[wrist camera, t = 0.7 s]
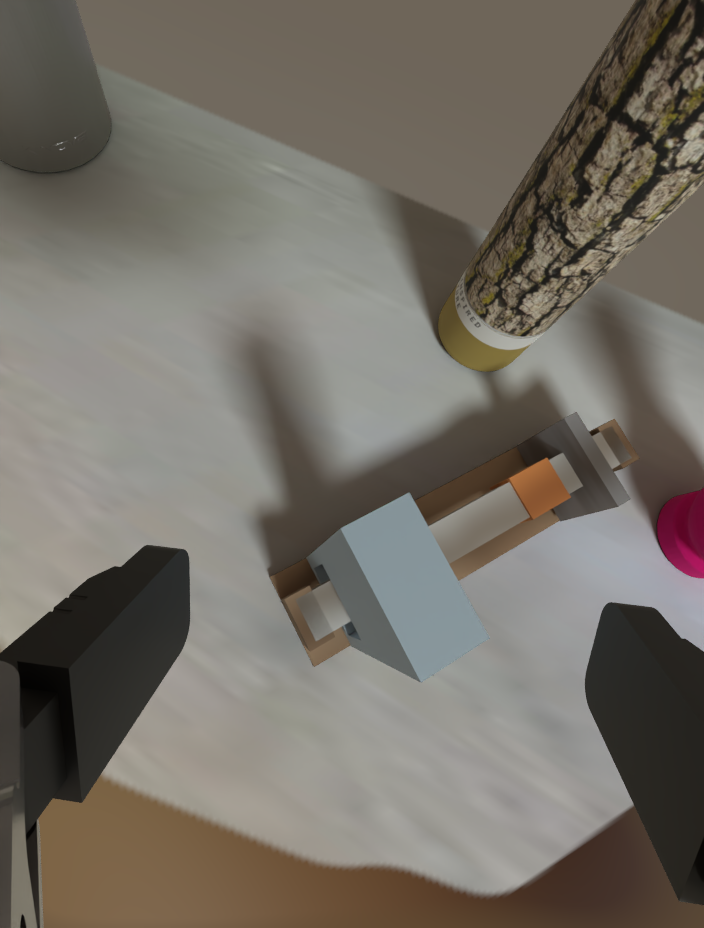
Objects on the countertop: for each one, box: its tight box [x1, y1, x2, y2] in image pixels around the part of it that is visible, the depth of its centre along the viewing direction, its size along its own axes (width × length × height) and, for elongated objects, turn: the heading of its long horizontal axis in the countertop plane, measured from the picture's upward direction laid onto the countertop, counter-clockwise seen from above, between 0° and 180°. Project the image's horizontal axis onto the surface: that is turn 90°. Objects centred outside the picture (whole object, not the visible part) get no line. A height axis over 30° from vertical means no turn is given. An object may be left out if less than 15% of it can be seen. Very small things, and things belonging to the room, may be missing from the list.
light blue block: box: [306, 492, 490, 682], centre depth 25 cm, size 6×3×14 cm, turn 28°
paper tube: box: [438, 0, 704, 372], centre depth 27 cm, size 7×7×25 cm
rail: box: [270, 412, 640, 667], centre depth 32 cm, size 6×24×7 cm, turn 118°
